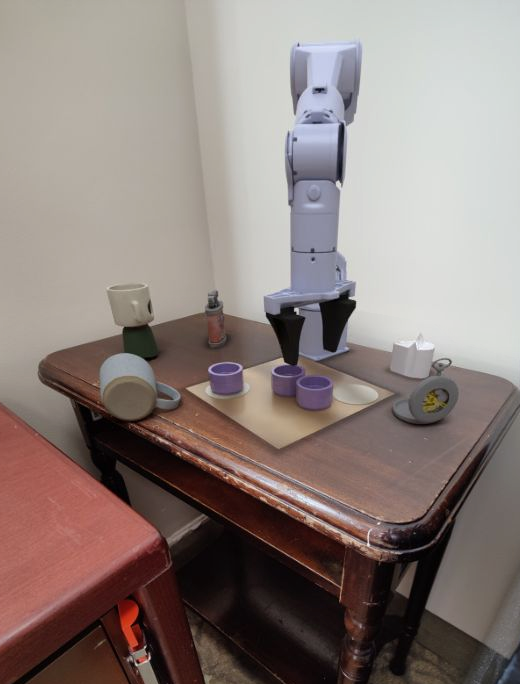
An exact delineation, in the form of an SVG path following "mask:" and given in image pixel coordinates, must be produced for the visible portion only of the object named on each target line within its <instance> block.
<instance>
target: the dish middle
mask: <svg viewBox="0 0 520 684" xmlns="http://www.w3.org/2000/svg"><path fill="white" fill-rule="evenodd" d="M304 376H306V370H305V368H304V367H302V366H300V365H296V366H291V365H289V364H282V365H278V366H275V367H273V368H272V369H271V389H272V390H273V392H274V394H275V395H277V396H280V397H287V398H290V397H296V383H297V380H298V379H299V378H301V377H304Z"/></svg>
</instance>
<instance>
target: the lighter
mask: <svg viewBox="0 0 520 684" xmlns="http://www.w3.org/2000/svg"><path fill="white" fill-rule="evenodd" d="M218 298H219V291H218V289H212V291H211V292H208V293H207V303H206V305H205V306H204V313H205V314H206V321H207V329H208V338H209V339H208V346H209V347H210V348H212V349H213V348H218V347H219V348H220V347H221V346H224V345H225V344H226V342H227V334H226V330H225V313H224V310H223V309H224V301H223V300H218Z"/></svg>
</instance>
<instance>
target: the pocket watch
mask: <svg viewBox="0 0 520 684" xmlns="http://www.w3.org/2000/svg"><path fill="white" fill-rule="evenodd" d="M440 361H448V362H449V363H448V364H447V365H445V366H444V364H443V363H442V362H440ZM438 362H440V363H438ZM436 363H438V365H437V366H435V364H436ZM452 363H453V360H452V359H451V358H448V357H443V358H438V359H436V360H435V361H433V362H432V364H431V368H432V369H434V370H435V371H436V374H434V375H429V376H428V377H426V378H423V380H421V381H420V382H419V383H418V384H417V385H416V386H415V387H414V388H413V390H412V391H411V392H410V393H411V394H410V395H409V398H402V399H400V400H397V401H396V402H394V403H393V405H392V412H393V414H394V416H396V417H397V418H398V419H400V420H402V421H404V422H407V423H411V424H415V425H429V424H432V423H433V424H434V423H435V422H438V421H439V420H442V419H444V418H445V417H447V416H448V415H450V413H451V412H452V411H453V409H455V406H456V405H457V402H458V400H459V396H460V395H459V392H460V391H459V387H458V385H457V383H456V381H455V380H453V378H452V377H450V376H449V375H445V374H442V372H444V371H445V369H446V368H448V367H450V366H451V365H452Z"/></svg>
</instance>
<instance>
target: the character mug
mask: <svg viewBox="0 0 520 684" xmlns="http://www.w3.org/2000/svg"><path fill="white" fill-rule="evenodd" d="M105 290H106V294H107V297H108V303H109V306H110V309H111V314H112V318H113V322H114V324H115V325H116V326H118V327H122V331H121V333H122V345H123V351H124V352H123V353H129V354H133V355H136V356H139V357H141V358H142V359H144V360H146V359H147V358H154V357H156V356H158V355H159V353H160V350H159V347H158V344H157V340H156V337H155V335H154V332H153V329H152V328H151V327H150V325H149V324H151V323H152V322H153V321H154V320H155V314H154V309H153V303H152V298H151V294H150V289H149V285H148V284H147V283H143V282H123V283H116V284H112V285H109V286H106V289H105Z"/></svg>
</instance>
